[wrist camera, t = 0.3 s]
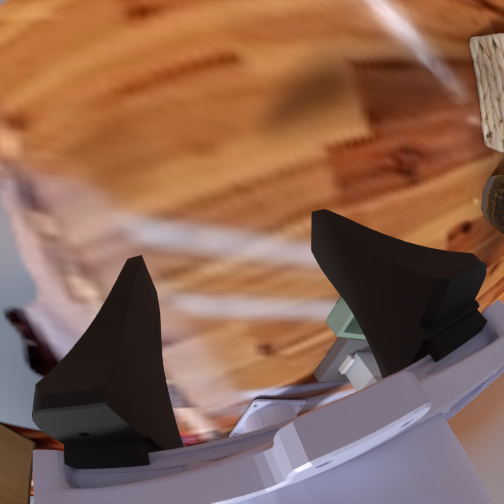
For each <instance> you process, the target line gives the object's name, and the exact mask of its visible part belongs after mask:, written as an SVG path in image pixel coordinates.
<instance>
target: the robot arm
mask: <svg viewBox="0 0 504 504" xmlns="http://www.w3.org/2000/svg"><path fill="white" fill-rule="evenodd" d="M311 251H312V253H313V255H314V257H315V259H316V261H317V262H318V264H319V266H320V268H321V269H322V271H323V272H324V274H325V275H326V276H327V278H328V279H329V280H330V282H331V283H332V284H333V286H334V287H335V289H336V290H337V291H338V293H339V294H340V295H341V297H342V298H343V300H344V301H345V302H346V304H347V305H348V307H349V308H350V310H351V311H352V313H353V315H354V317H355V319H356V320H357V322H358V324H359V326H360V328H361V330H362V332H363V334H364V336H365V338H366V340H367V342H368V344H369V346H370V349H371V351H372V353H373V355H374V358H375V360H376V362H377V365H378V368H379V370H380V373H381V375H382V378H383V379H382V380H380V381H378V382H376V383H374V384H372V385H370V386H368V387H365V388H363V389H361V390H359V391H357V392H355V393H352V394H350V395H348V396H346V397H343V398H341V399H339V400H336V401H334V402H331V403H329V404H326V405H324V406H321V407H319V408H316V409H314V410H311V411H309V412H307V413H305V414H303V415H300V416H297V414H298V412H299V411H300V410H301V409H302V408H303V407H304V405H305V404H306V400H272V399H255V400H254V401H253V402H252V403H251V405H250V406H249V408H248V409H247V410H246V412H245V413H244V415H243V416H242V418H241V419H240V420H239V422H238V423H237V424H236V426H235V427H234V429H233V430H232V431H231V433H230V434H229V438H225V439H220V440H216V441H212V442H207V443H203V444H198V445H193V446H188V447H184V446H183V443H182V440H181V437H180V434H179V430H178V427H177V423H176V420H175V416H174V413H173V409H172V405H171V401H170V396H169V392H168V388H167V383H166V378H165V373H164V367H163V359H162V342H161V320H160V309H159V302H158V296H157V291H156V289H155V286H154V284H153V282H152V279H151V277H150V274H149V272H148V270H147V267H146V265H145V262H144V260H143V257H142V255H140V256H136V257H132V258H129V259H127V261H126V263H125V265H124V267H123V269H122V270H121V272H120V274H119V276H118V278H117V280H116V282H115V284H114V286H113V288H112V290H111V292H110V294H109V295H108V297H107V299H106V301H105V302H104V304H103V306H102V308H101V309H100V311H99V313H98V314H97V316H96V317H95V319H94V320H93V322H92V323H91V325H90V326H89V327H88V329H87V330H86V332H85V333H84V334H83V335H82V337H81V338H80V339H79V340H78V342H77V343H76V344H75V345H74V347H73V348H72V349H71V350H70V351H69V352H68V354H67V355H66V356H65V357H64V358H63V359H62V360H61V361H60V362H59V363H58V364H57V365H56V366H55V367H54V368H53V369H52V370H51V371H50V372H49V373H48V374H47V375H46V376H45V377H43V378H42V379H41V380H40V381H39V382H38V383H37V384H36V387H35V395H34V402H33V412H32V418H33V421H34V422H35V424H36V425H37V426H38V428H40V429H41V430H42V431H43V432H45V433H47V434H48V435H50V436H51V437H53V438H54V439H56V440H57V441H59V442H61V443H62V444H64V452H61V451H57V450H33V490H34V504H494V503H493V501H492V499H491V497H490V495H489V494H488V492H487V490H486V488H485V486H484V484H483V482H482V481H481V479H480V477H479V475H478V473H477V472H476V470H475V468H474V466H473V465H472V463H471V461H470V459H469V458H468V456H467V455H466V453H465V451H464V449H463V448H462V446H461V444H460V443H459V441H458V439H457V438H456V436H455V434H454V433H453V431H452V430H451V428H450V427H449V425H448V423H447V420H448V419H450V418H451V417H452V416H453V415H455V414H456V413H457V412H459V411H460V410H461V409H462V408H463V407H465V406H466V405H467V404H468V403H469V402H470V401H472V400H473V399H474V398H475V397H476V396H478V395H479V393H481V392H482V391H483V390H484V389H485V388H486V387H488V386H489V385H490V384H491V383H492V382H493V381H494V380H495V379H496V378H497V377H498V376H499V375H500V374H502V372H504V304H503V303H502V302H501V301H500V300H497V301H495V302H494V303H493V304H491V305H490V306H489V307H487V308H486V309H485V310H484V311H483V312H482V314H481V313H480V312H479V311H478V310H477V309H478V308H479V303H478V302H477V301H476V300H475V298H476V296H477V294H478V292H479V290H480V288H481V286H482V284H483V281H484V279H485V276H486V265H485V264H484V263H483V262H482V261H481V260H480V259H479V258H477V257H476V256H475V255H474V254H472V253H462V252H452V251H445V250H439V249H434V248H429V247H424V246H420V245H416V244H412V243H409V242H405V241H402V240H399V239H396V238H393V237H390V236H387V235H385V234H382V233H380V232H377V231H375V230H372V229H370V228H368V227H365V226H363V225H361V224H359V223H356V222H354V221H352V220H350V219H347V218H345V217H343V216H341V215H339V214H336V213H334V212H331V211H329V210H326V209H322V210H318V211H313V212H312V231H311Z"/></svg>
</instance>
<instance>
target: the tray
mask: <svg viewBox="0 0 504 504" xmlns="http://www.w3.org/2000/svg"><path fill="white" fill-rule="evenodd" d="M326 323H327V324H328V325H329V327H330V328H331V330H332V331H333V332H334V334H335V335H336V336H339V337H347V338H355V339H364V340H366V338H365V336H364V334H363V332H362V330H361V328H360V326H359V324H358V322H357V320H356V319H355V317H354V315H353V313H352V311H351V310H350V308H349V307H348V305H347V304H346V302H345V301H344V300H343V298H342V297H340V299H339V300H338V302H337V304H336V305H335V307H334V309H333V310H332V312H331V313H330V315H329V317H328V318H327V320H326Z"/></svg>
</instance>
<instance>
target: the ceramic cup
mask: <svg viewBox="0 0 504 504" xmlns="http://www.w3.org/2000/svg"><path fill="white" fill-rule="evenodd" d="M481 209H482V212H483V214H484V216H485V218H486V220H487V221H489V222H490V223H491V224H492V225H493V226H495V227H496V228H497V229H498V230H499V231H500V232H502V233H503V234H504V175H501V174H499V175H495V176H491V177H490V178H489V180H488V182H487V184H486V186H485V188H484V189H483V196H482V205H481Z"/></svg>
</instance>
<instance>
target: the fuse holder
mask: <svg viewBox="0 0 504 504" xmlns="http://www.w3.org/2000/svg"><path fill="white" fill-rule="evenodd" d="M356 350H363V351H371V349H370V346H369V344H368V342H367V340H364V339H355V338H347V337H338V339H337V340H336V342H335V343H334V345H333V346H332V348H331V349H330V351H329V352H328V353H327V355H326V356H325V358H324V359H323V361H322V362H321V363H320V365H319V366H318V368H317V369H316V370H315V372H314V373H313V374H314V376H315V377H316V379H317V381H318V382H350V381H349V379H348V378H347V376H346V375H345V373H346V371H347V370H348V369H349V367H350V366H351V365H352V363H353V362H354V361H355V358H354V357H353V353H354V352H355V351H356Z"/></svg>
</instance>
